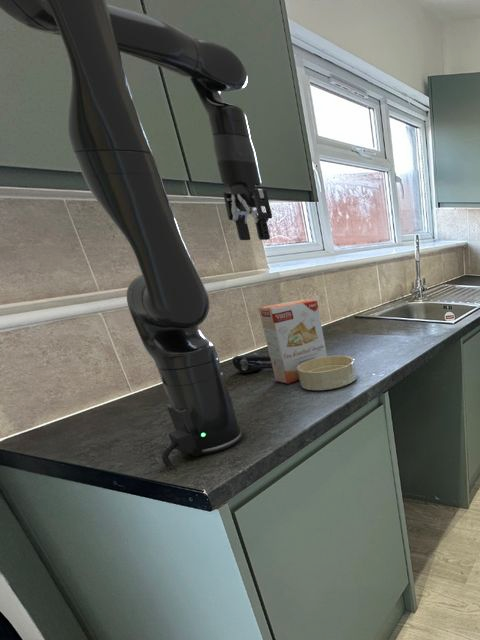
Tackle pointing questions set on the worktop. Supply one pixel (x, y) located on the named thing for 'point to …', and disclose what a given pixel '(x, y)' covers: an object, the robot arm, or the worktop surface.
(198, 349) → the robot arm
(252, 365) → the can opener
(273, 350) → the cracker box
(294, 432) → the worktop surface
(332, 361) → the bowl
